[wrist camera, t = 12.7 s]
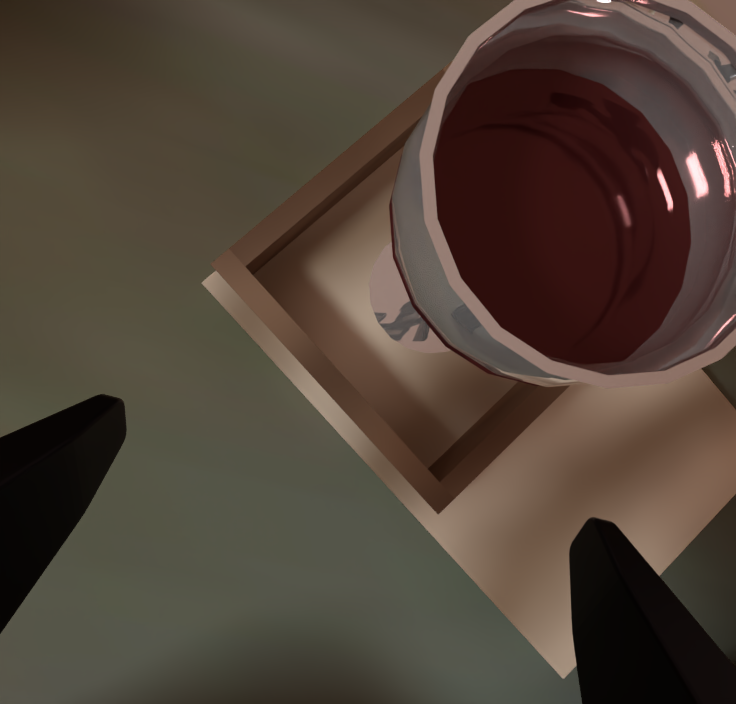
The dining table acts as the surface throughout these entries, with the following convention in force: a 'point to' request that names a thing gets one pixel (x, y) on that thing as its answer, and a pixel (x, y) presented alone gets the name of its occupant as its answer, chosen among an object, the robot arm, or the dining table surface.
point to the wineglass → (572, 198)
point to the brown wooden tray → (471, 406)
